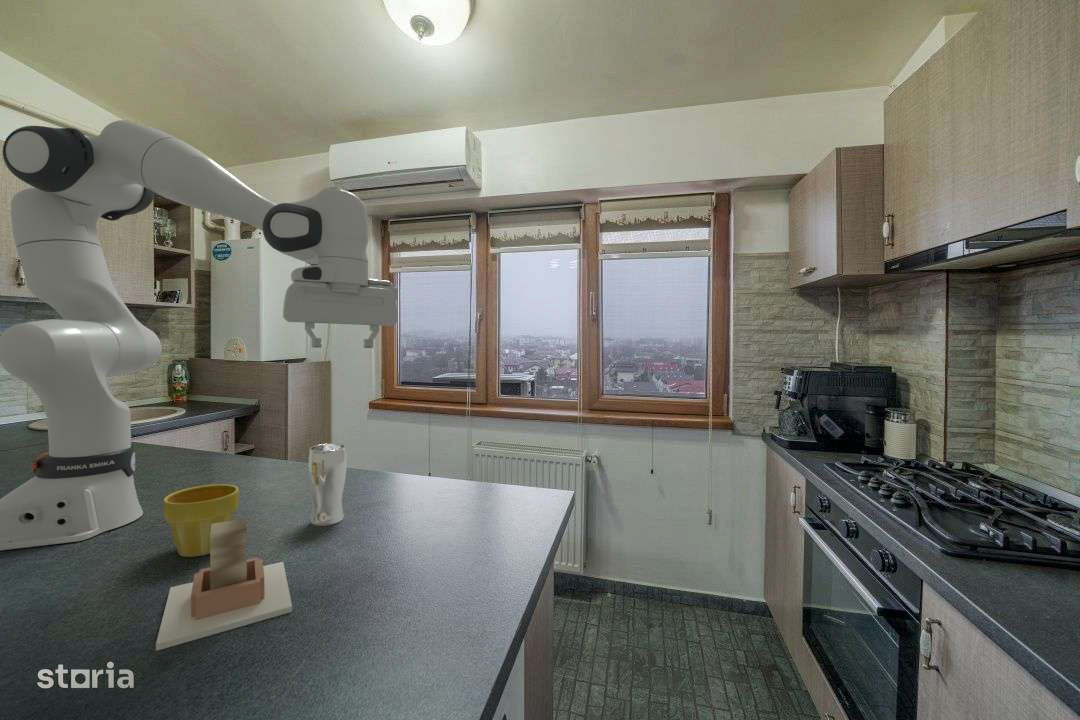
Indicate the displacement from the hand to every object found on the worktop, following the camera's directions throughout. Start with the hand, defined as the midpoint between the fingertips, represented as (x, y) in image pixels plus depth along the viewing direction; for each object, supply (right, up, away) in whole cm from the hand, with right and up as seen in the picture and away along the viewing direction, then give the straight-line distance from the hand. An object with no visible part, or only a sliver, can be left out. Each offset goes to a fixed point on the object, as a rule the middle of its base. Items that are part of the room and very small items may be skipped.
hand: (343, 347), depth 86 cm
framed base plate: (-5, -36, -24) cm, 44 cm away
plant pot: (-20, -35, -9) cm, 42 cm away
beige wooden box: (-5, -35, -24) cm, 43 cm away
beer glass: (-5, -35, +4) cm, 36 cm away
